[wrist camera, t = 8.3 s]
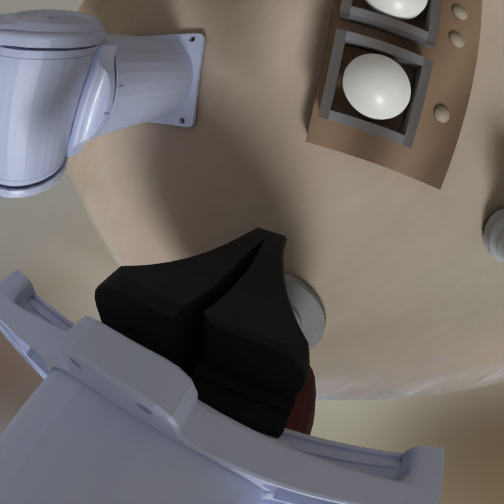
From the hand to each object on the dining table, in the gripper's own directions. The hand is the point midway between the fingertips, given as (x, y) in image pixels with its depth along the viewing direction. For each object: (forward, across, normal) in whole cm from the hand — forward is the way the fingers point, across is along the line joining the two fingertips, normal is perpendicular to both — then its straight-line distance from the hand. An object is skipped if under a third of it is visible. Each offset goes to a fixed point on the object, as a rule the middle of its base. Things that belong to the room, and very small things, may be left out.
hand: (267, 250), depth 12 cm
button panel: (+10, -4, -15) cm, 19 cm away
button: (+9, -3, -8) cm, 12 cm away
